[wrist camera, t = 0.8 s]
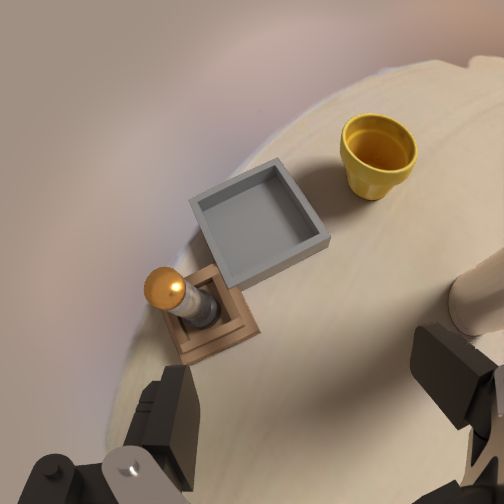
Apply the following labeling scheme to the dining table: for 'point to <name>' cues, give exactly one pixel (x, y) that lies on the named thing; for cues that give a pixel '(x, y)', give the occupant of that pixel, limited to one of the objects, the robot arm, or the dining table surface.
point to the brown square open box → (227, 327)
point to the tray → (258, 224)
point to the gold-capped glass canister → (181, 298)
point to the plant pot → (376, 154)
